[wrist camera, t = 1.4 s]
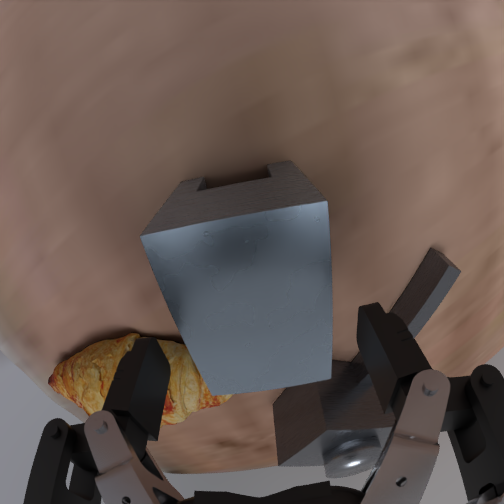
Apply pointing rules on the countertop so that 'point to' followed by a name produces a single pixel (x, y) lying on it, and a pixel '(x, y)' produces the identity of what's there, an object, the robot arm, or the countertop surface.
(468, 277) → the countertop surface
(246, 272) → the notched metal block
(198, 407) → the croissant
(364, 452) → the grey knobbed block
